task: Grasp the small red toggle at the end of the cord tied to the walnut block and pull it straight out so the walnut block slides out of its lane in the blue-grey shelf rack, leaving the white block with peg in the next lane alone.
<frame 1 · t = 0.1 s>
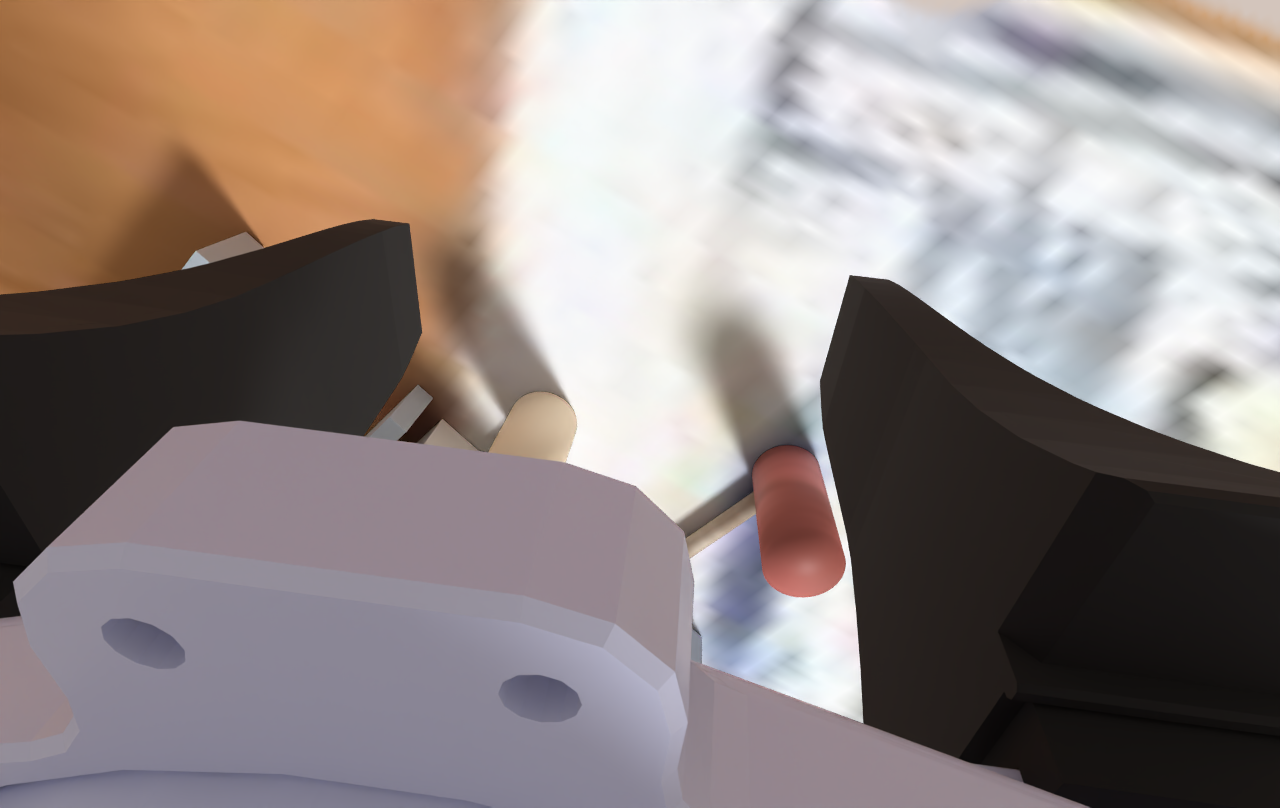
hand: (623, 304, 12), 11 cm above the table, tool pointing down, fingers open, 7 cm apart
white block with peg: (451, 500, 27), on the table
lane rack: (513, 564, 28), on the table
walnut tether: (584, 613, 29), on the table
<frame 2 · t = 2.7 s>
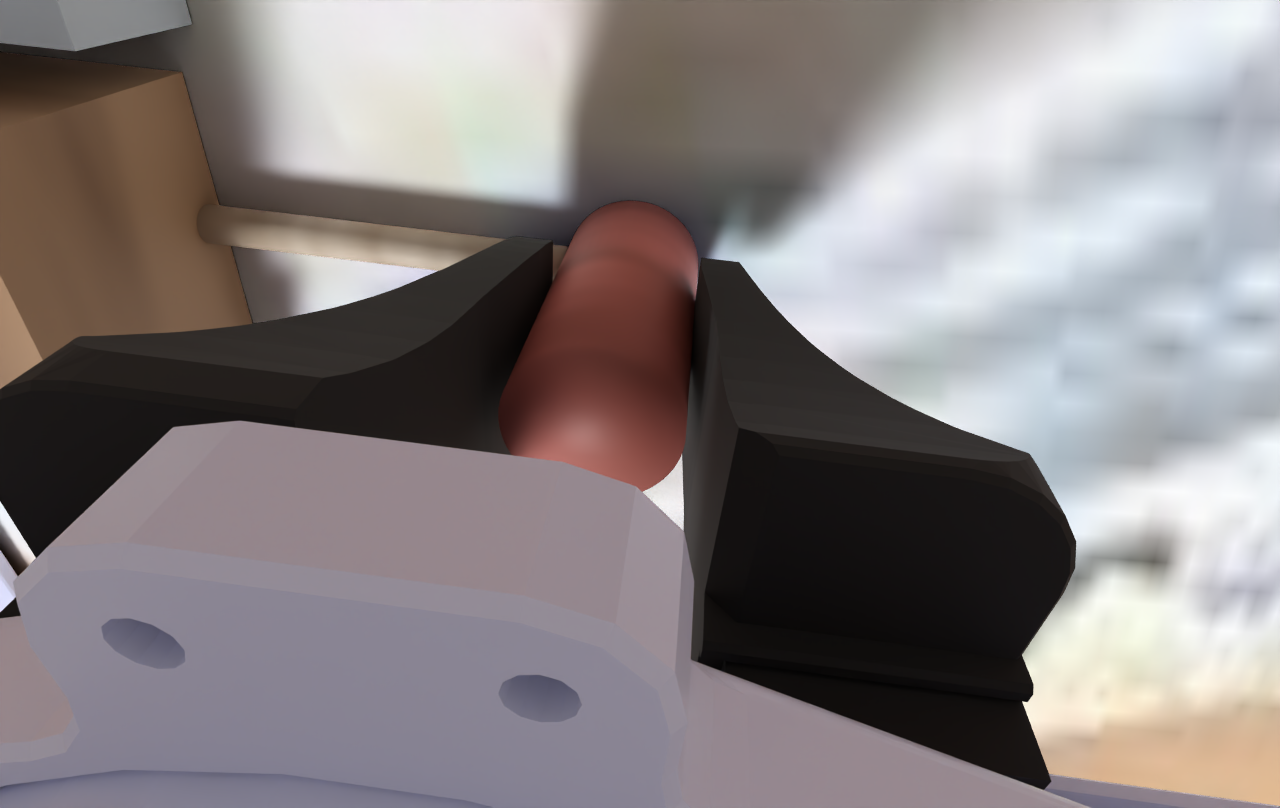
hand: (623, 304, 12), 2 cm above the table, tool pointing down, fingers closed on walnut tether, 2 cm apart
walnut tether: (94, 200, 13), on the table, touching gripper
when the fingers open (2 cm above the table, at t = 5.9 s): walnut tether stays where it is, on the table.
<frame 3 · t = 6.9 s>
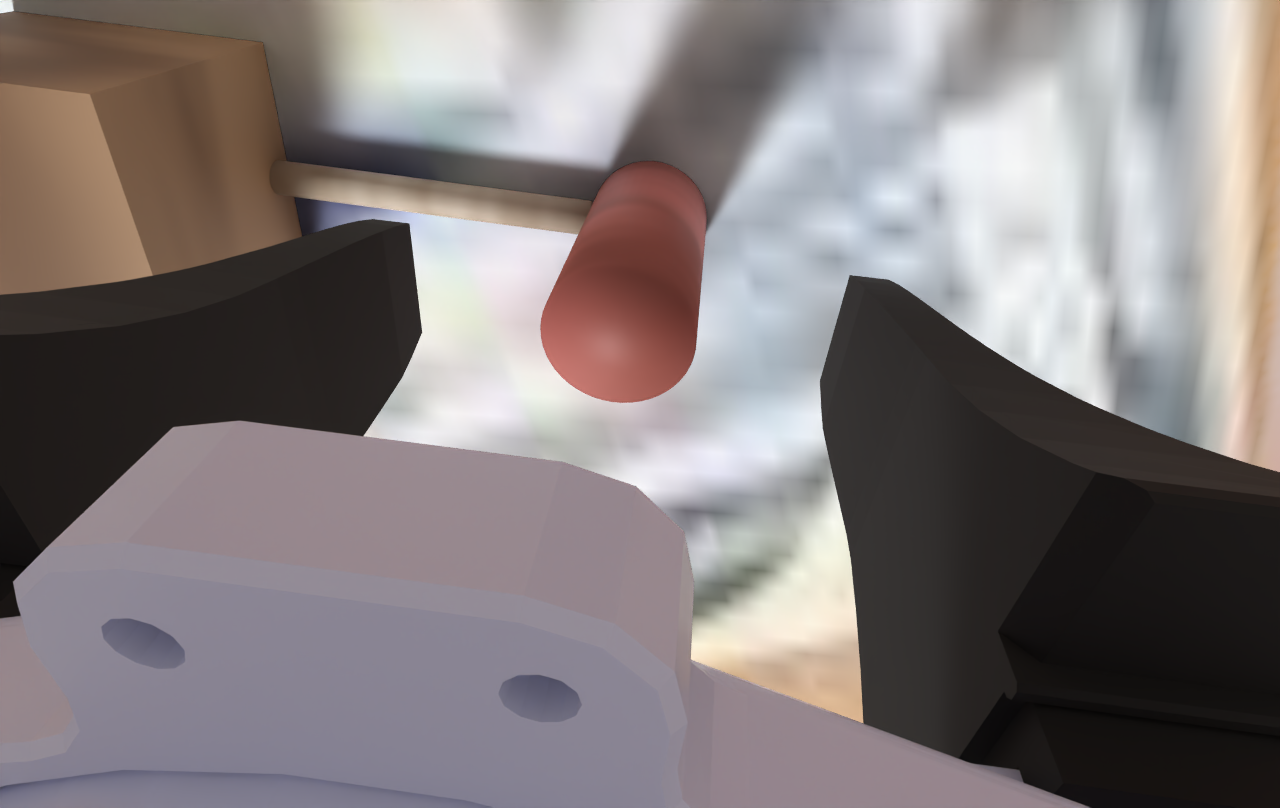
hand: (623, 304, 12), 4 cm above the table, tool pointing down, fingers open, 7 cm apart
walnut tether: (176, 156, 15), on the table
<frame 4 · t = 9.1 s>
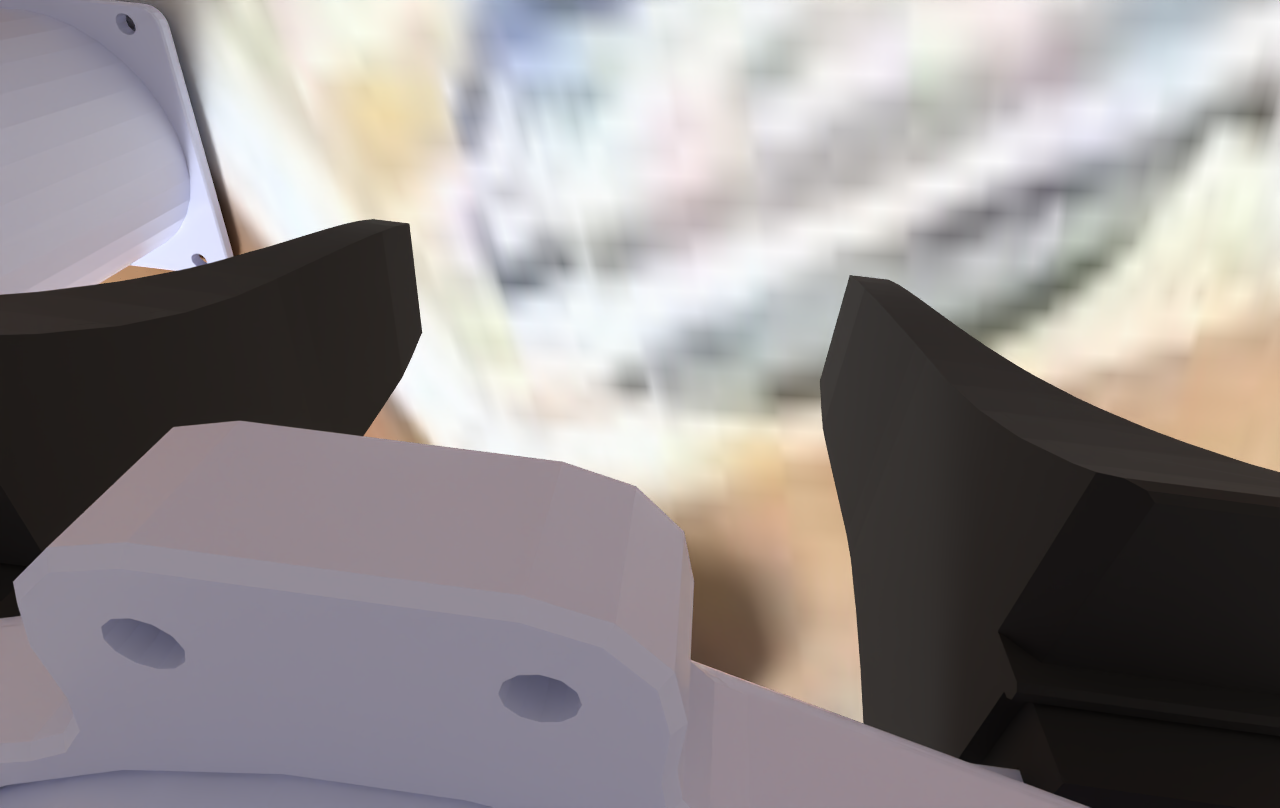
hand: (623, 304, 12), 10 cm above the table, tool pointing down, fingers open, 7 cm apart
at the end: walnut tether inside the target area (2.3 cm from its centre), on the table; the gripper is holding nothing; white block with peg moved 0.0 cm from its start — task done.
